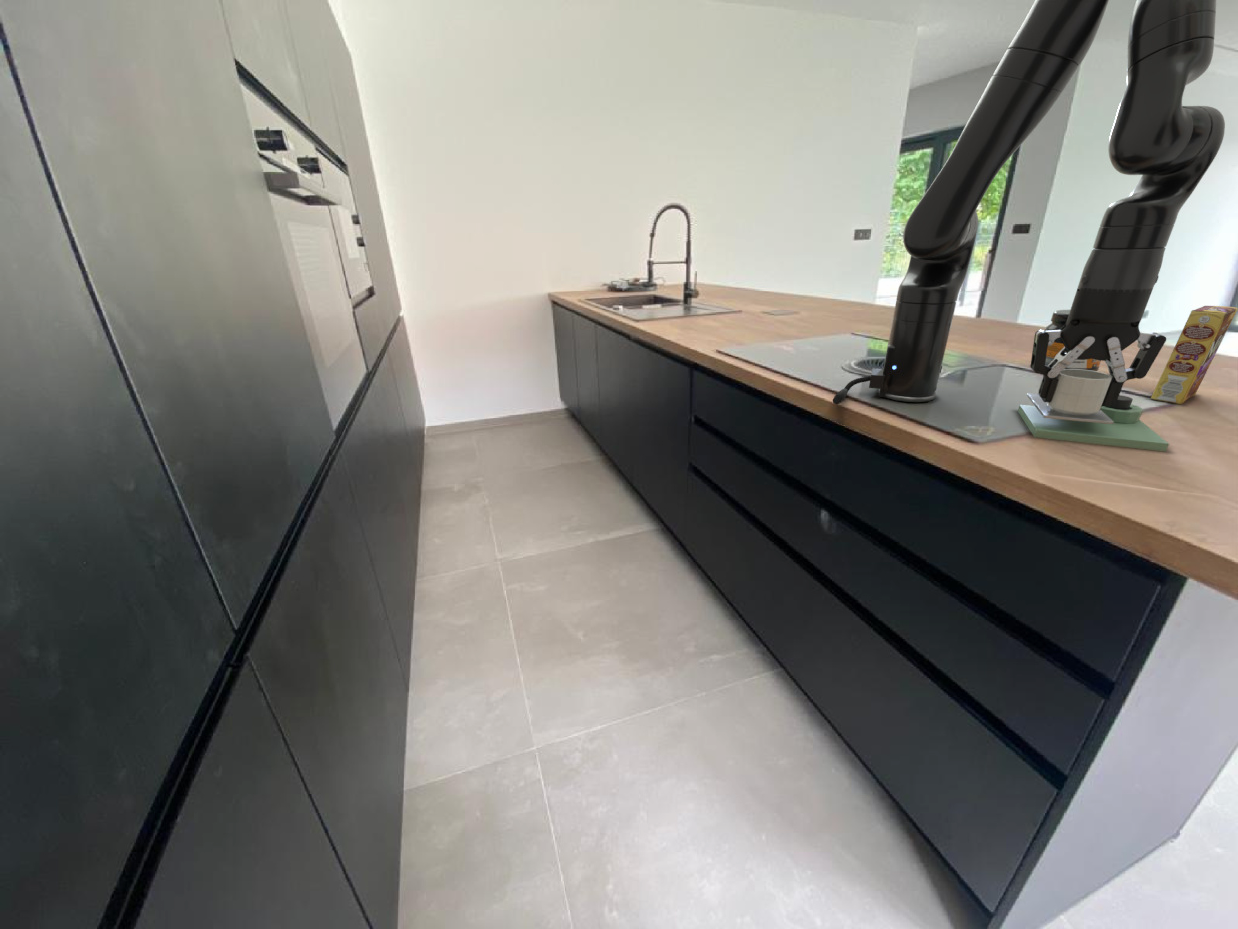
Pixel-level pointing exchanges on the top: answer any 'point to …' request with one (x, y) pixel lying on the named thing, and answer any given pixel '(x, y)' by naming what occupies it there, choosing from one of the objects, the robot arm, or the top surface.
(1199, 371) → the candy box
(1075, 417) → the scale pan
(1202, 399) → the top surface
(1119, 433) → the scale
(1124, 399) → the tare button
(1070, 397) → the white cup
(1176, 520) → the top surface
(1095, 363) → the supplement container
